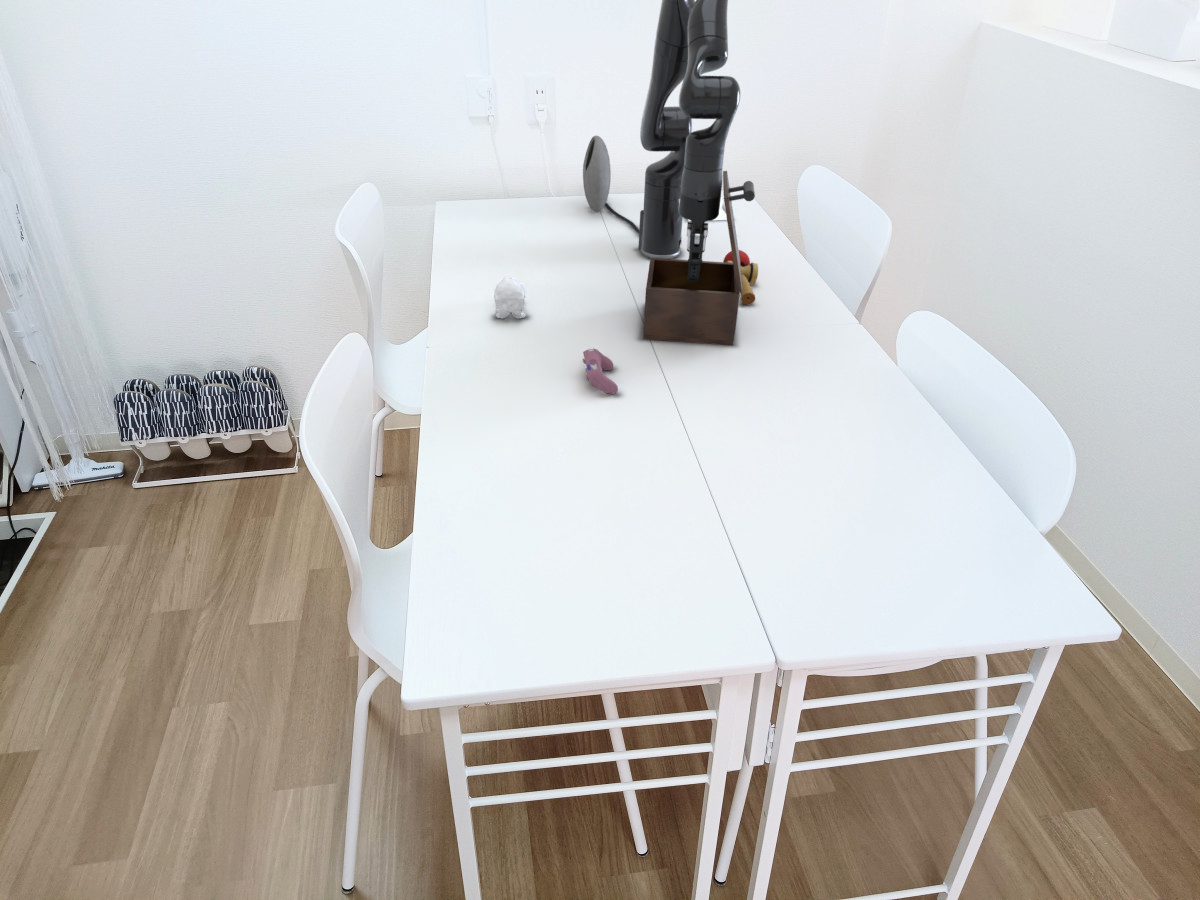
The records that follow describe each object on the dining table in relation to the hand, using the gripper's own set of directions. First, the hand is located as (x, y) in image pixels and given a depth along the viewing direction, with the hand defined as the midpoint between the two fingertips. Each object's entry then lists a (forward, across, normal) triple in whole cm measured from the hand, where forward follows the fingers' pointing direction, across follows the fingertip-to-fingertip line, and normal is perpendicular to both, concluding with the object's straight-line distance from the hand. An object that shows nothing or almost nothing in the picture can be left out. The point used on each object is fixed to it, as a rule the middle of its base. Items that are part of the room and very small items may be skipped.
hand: (693, 271), depth 170 cm
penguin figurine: (+12, -1, -37) cm, 39 cm away
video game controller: (+12, +25, -16) cm, 32 cm away
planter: (+12, -62, -26) cm, 69 cm away
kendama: (+12, -20, +11) cm, 25 cm away
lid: (-9, 0, +6) cm, 11 cm away
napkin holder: (+12, -67, +2) cm, 68 cm away
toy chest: (+12, 0, 0) cm, 12 cm away
